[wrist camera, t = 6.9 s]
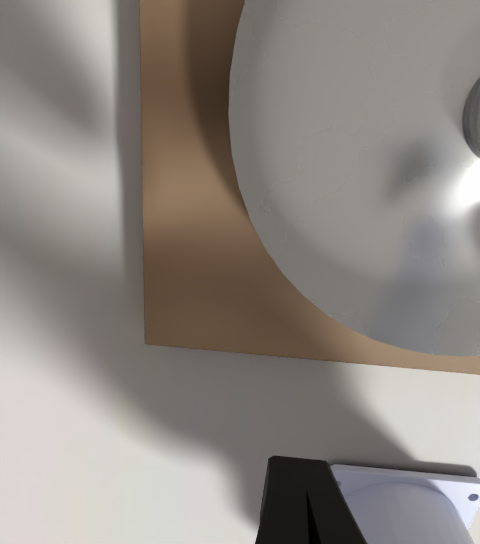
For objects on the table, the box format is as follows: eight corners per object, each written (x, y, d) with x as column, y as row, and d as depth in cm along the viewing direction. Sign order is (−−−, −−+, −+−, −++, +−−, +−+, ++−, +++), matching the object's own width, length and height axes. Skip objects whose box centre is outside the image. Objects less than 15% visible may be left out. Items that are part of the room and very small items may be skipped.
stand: (644, 370, 18) (687, 400, 16) (153, 326, 18) (141, 350, 17) (1004, -276, 10) (1165, -357, 9) (149, -338, 11) (126, -428, 9)
